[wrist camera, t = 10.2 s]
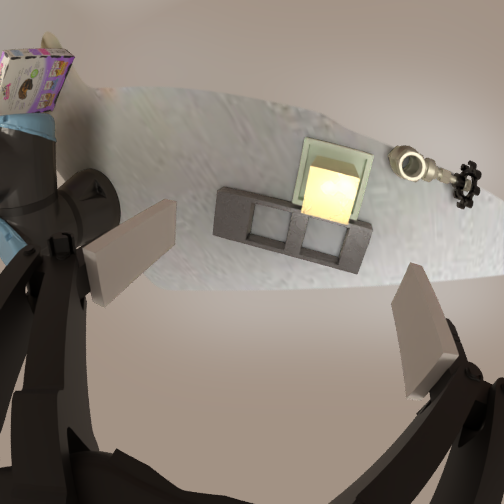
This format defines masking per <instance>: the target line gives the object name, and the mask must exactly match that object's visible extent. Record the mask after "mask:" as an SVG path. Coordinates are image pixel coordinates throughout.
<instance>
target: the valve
mask: <svg viewBox="0 0 504 504" xmlns="http://www.w3.org/2000/svg"><path fill="white" fill-rule="evenodd" d="M408 156H409V164H408V165H407V166H406V167H405V168H403V167H402V164H403V161H404V159H405V158H406V157H408ZM388 157H389V161H390V165H391V168H392V170H393V172H394V173H395V174H396V175H397V176H399V177H400V178H403V179H407V180H410V181H414V182H417V181H418V180H419V179H420V178H421V179H422V180H424V181H427V182H431V181H432V179H436V178H437V180H439V181H440V182H443V183H446V184H448V183H449V182H451V183H452V187H453V188H456V191H454V194H453V196H454V198H456V199H459V200H461V201H460V203H459V202H457V207H458V208H461V209H464V208H465V206H466V207H468V208H472V206H473V200H472V198H473V196H474V195H476V196H478V195H479V194H480V188H479V187H478V186H477V181H478V180H479V179H480V178H481V172H480V171H478V170H476V166H477V165H476V163H475V162H472V161H469V162H468V165H470V168H469V166H467V165H465V164H462V166H461V170H462V172H461V174H458V173H455V174H454V176H453V175H451V172H450V171H448V170H445V169H443V168H440V169H438V167H437V166H436V163H435V161H434V160H432V159H430V158H426V159H424V157H423V155H421V154H419V153H418V152H417V151H416V150H415V149H414V148H412V147H410V146H396V147H395V148H394V149H393V150H392V151H391V152H390V153H389V154H388ZM468 175H469V176H471V178H472V184H471V181H470V180H468V179H467V176H468ZM463 190H464V191H467V192H468V191H469V190H470V191H469V193H468V194H467V195H466V196H464V194H463Z"/></svg>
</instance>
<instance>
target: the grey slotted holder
mask: <svg viewBox="0 0 504 504" xmlns="http://www.w3.org/2000/svg"><path fill="white" fill-rule="evenodd" d="M255 203H256V204H260V205H264V206H268V207H272V208H276V209H280V210H284V211H288V212H292V217H291V222H290V226H289V231H288V235H287V240H286V243H284V242H280V241H277V240H273V239H269V238H265V237H262V236H258V235H254V234H250V233H251V227H252V221H253V214H254V208H255ZM301 209H302V206H301V205H297V204H293V203H292V202H289V201H285V200H281V199H276V198H272V197H268V196H264V195H260V194H255V193H251V192H246V191H242V190H237V189H233V188H228V187H223V188H221V189H219V190H218V191H217V199H216V208H215V218H214V228H213V235H214V236H218V237H222V238H226V239H229V240H233V241H237V242H241V243H244V244H248V245H252V246H255V247H259V248H263V249H266V250H270V251H274V252H277V253H281V254H285V255H288V256H292V257H296V258H299V259H303V260H307V261H310V262H314V263H318V264H321V265H325V266H329V267H332V268H336V269H340V270H343V271H347V272H350V273H354V274H358V271H359V269H360V266H361V263H362V260H363V258H364V255H365V252H366V249H367V246H368V244H369V241H370V238H371V235H372V232H373V229H372V225H371V224H370V223H366V222H363V221H360V220H353V219H349V221H348V225H346V224H342V223H338V222H335V221H331V220H327V219H323V218H320V217H316V216H312V215H308V214H304V213H301ZM309 217H311V218H315V219H319V220H323V221H326V222H330V223H334V224H337V225H341V226H344V227H348V229H347V232H346V235H345V239H344V242H343V245H342V248H341V251H340V255H339V257H336V256H332V255H328V254H325V253H321V252H317V251H314V250H310V249H306V248H303V247H302V243H303V239H304V235H305V231H306V227H307V223H308V219H309Z"/></svg>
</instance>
